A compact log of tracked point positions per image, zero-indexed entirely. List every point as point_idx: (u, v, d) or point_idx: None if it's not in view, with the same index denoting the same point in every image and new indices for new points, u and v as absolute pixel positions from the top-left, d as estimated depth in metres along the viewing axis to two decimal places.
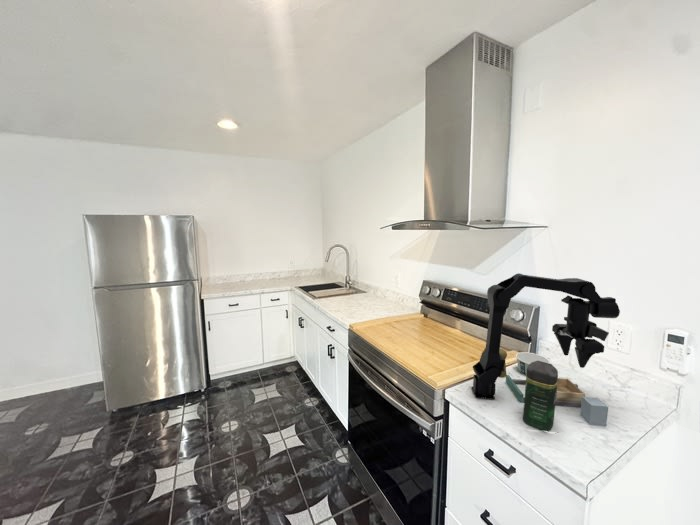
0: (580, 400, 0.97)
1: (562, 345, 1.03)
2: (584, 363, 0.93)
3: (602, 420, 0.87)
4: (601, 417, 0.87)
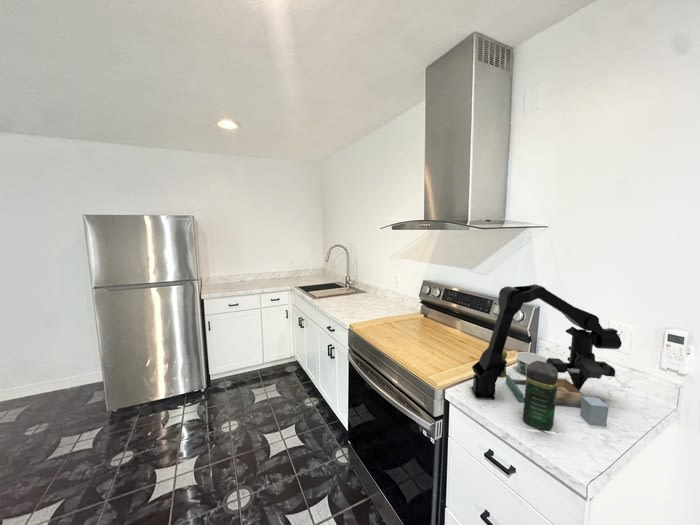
0: (578, 400, 0.97)
1: None
2: (575, 385, 1.01)
3: (602, 420, 0.87)
4: (601, 417, 0.87)
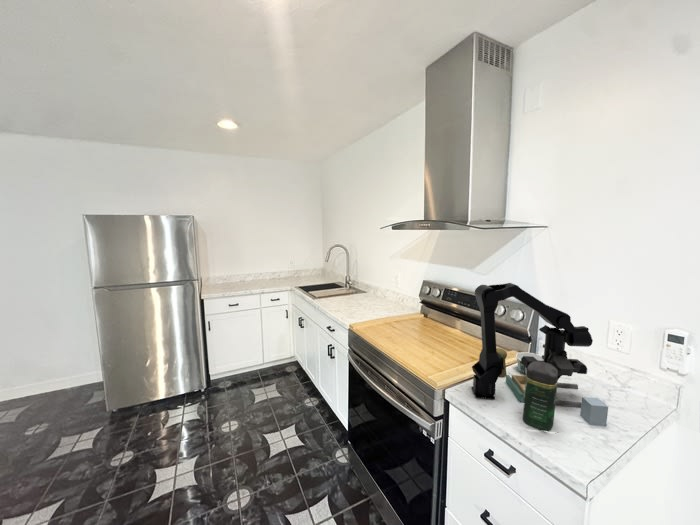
0: None
1: None
2: None
3: (602, 420, 0.87)
4: (601, 417, 0.87)
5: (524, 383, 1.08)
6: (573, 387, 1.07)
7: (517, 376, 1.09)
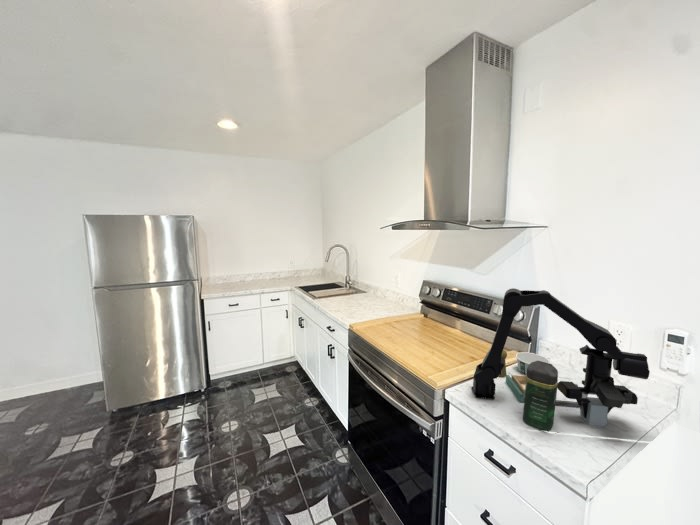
0: None
1: None
2: (582, 412, 0.89)
3: (602, 420, 0.87)
4: (601, 417, 0.87)
5: (524, 383, 1.08)
6: None
7: (517, 376, 1.09)
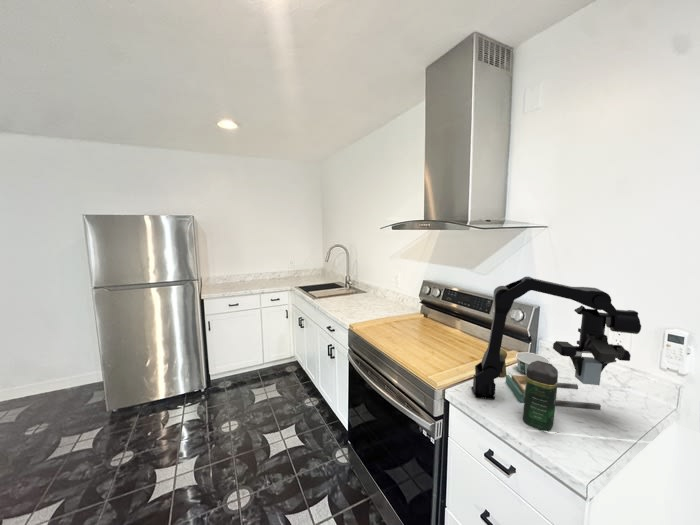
0: None
1: None
2: (577, 370, 0.92)
3: (596, 377, 0.90)
4: (595, 374, 0.90)
5: (524, 383, 1.08)
6: (573, 387, 1.07)
7: (517, 376, 1.09)
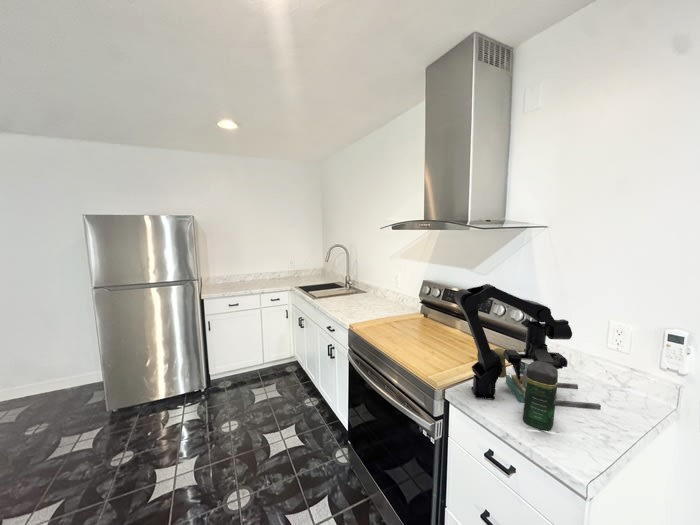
0: None
1: None
2: (516, 375, 1.04)
3: None
4: None
5: None
6: (573, 387, 1.07)
7: None
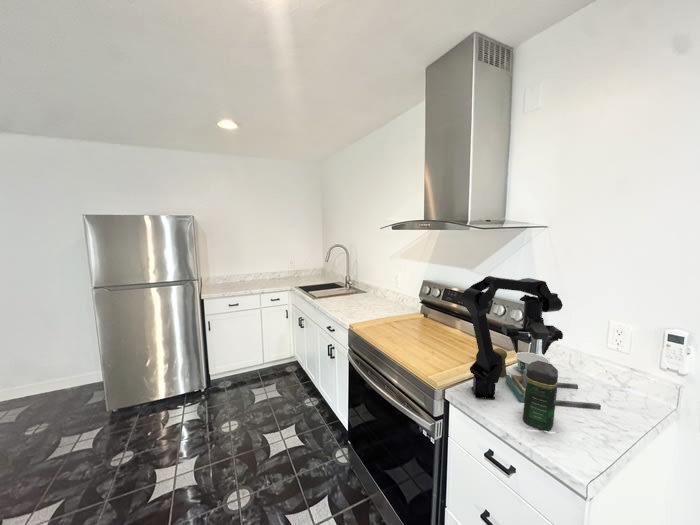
0: None
1: (542, 343, 1.09)
2: (514, 348, 1.09)
3: None
4: None
5: None
6: (573, 387, 1.07)
7: (517, 376, 1.09)
